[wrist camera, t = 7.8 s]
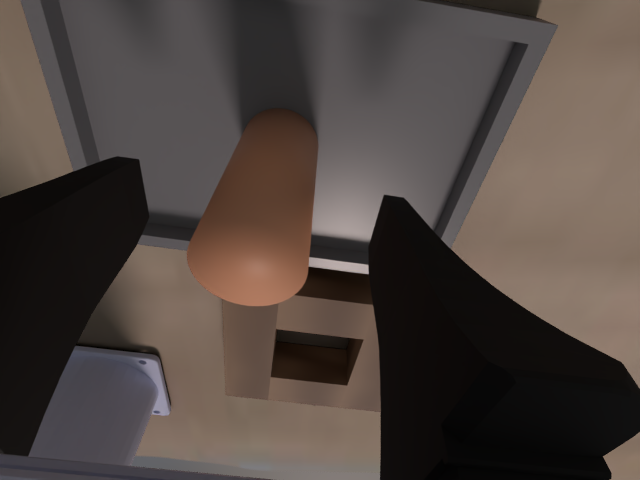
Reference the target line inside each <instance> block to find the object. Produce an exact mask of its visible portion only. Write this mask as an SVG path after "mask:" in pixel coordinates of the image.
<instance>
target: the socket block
mask: <svg viewBox="0 0 640 480" xmlns="http://www.w3.org/2000/svg"><path fill="white" fill-rule="evenodd" d="M222 310H223V338H224V366H225V394H226V395H227V396H236V397H246V398H255V399H264V400H273V401H283V402H292V403H301V404H311V405H320V406H329V407H338V408H348V409H357V410H366V411H375V412H381V401H380V365H379V345H378V335H377V328H376V322H375V315H374V308H373V302H372V295H371V288H370V281H369V274H362V273H354V272H346V271H339V270H331V269H323V268H316V267H308V275H307V279H306V281H305V283H304V285H303V286H302V288H301V289H300V290H299V291H298V292H297V293H296V294H295V295H294V296H292V297H291V298H289V299H287V300H285V301H283V302H280V303H277V304H273V305H268V306H246V305H240V304H235V303H232V302H229V301H226V300H224V299H222ZM277 329H279V330H288V331H296V332H304V333H313V334H321V335H329V336H338V337H346V338H350V340H349V343H348V347H347V350H343V349H334V348H326V347H317V346H309V345H300V344H292V343H283V342H276V338H277Z"/></svg>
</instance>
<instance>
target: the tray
mask: <svg viewBox="0 0 640 480" xmlns="http://www.w3.org/2000/svg"><path fill="white" fill-rule="evenodd" d="M21 3H22V7H23V10H24V13H25V16H26V19H27V23H28V26H29V29H30V32H31V36H32V39H33V42H34V45H35V48H36V52H37V55H38V58H39V61H40V64H41V68H42V71H43V74H44V77H45V81H46V84H47V87H48V90H49V93H50V97H51V100H52V103H53V106H54V110H55V113H56V116H57V119H58V122H59V126H60V129H61V132H62V135H63V138H64V142H65V145H66V148H67V151H68V155H69V158H70V161H71V164H72V167H73V171H76V170H79V169H81V168H84V167H86V166H89V165H92V164H94V163H97V162H100V161H103V160H106V159H109V158H112V157H116V156H120V157H127V158H134V159H139V161H140V167H141V172H142V178H143V183H144V189H145V194H146V200H147V205H148V211H149V216H150V217H149V220H148V222H147V224H146V227H145V229H144V231H143V233H142V235H141V238H140V240H139V242H138V244H140V245H147V246H155V247H163V248H170V249H178V250H185V251H187V249H188V246H189V242H190V240H191V238H192V236H193V234H194V232H195V230H196V228H197V226H198V224H199V222H200V220H201V218H202V216H203V214H204V212H205V210H206V208H207V206H208V204H209V202H210V200H211V197H212V195H213V193H214V191H215V189H216V187H217V185H218V183H219V181H220V179H221V177H222V175H223V173H224V171H225V169H226V167H227V165H228V163H229V161H230V159H231V157H232V155H233V152H234V150H235V148H236V146H237V144H238V142H239V140H240V138H241V136H242V134H243V132H244V130H245V128H246V126H247V124H248V123H249V121H250V120H251V119H252V118H253V117H254V116H255V115H257V114H258V113H260V112H262V111H264V110H267V109H273V108H283V109H288V110H291V111H294V112H296V113H298V114H299V115H301V116H302V117H304V118H305V119H306V120H307V121H308V122H309V123H310V124H311V126H312V127H313V129H314V131H315V133H316V136H317V139H318V159H317V171H316V183H315V195H314V207H313V219H312V231H311V243H310V255H309V267H316V268H323V269H331V270H339V271H346V272H354V273H362V274H369V269H368V246H369V243H370V240H371V236H372V233H373V229H374V226H375V223H376V219H377V216H378V213H379V209H380V206H381V202H382V199H383V196H384V195H390V196H397V197H404V198H405V199H406V200H407V201H408V202H409V204H410V205H411V206H412V207H413V208H414V209H415V210H416V212H417V213H418V214H419V215H420V216H421V217H422V218H423V220H424V221H425V222H426V223H427V224H428V225H429V226H430V228H431V229H432V230H433V231H434V232H435V233H436V234H437V235H438V236H439V237H440V239H441V240H442V241H443V242H444V243H445V244H446V245H447V246H448V247H449V248H450V249H451V247H452V245H453V243H454V240H455V238H456V236H457V234H458V232H459V230H460V228H461V226H462V224H463V222H464V220H465V218H466V216H467V214H468V211H469V209H470V207H471V205H472V203H473V201H474V199H475V197H476V195H477V193H478V191H479V189H480V187H481V184H482V182H483V180H484V178H485V176H486V174H487V172H488V170H489V168H490V166H491V164H492V162H493V160H494V157H495V155H496V153H497V151H498V149H499V147H500V145H501V143H502V141H503V139H504V137H505V135H506V133H507V130H508V128H509V126H510V124H511V122H512V120H513V118H514V116H515V114H516V112H517V110H518V108H519V106H520V103H521V101H522V99H523V97H524V95H525V93H526V91H527V89H528V87H529V85H530V83H531V81H532V79H533V76H534V74H535V72H536V70H537V68H538V66H539V64H540V62H541V60H542V58H543V56H544V54H545V52H546V50H547V47H548V45H549V43H550V41H551V39H552V37H553V35H554V33H555V31H556V29H557V27H558V25H556V24H553V23H550V22H548V21H545V20H542V19H539V18H536V17H531V16H525V15H519V14H514V13H508V12H503V11H497V10H491V9H486V8H480V7H475V6H469V5H463V4H458V3H452V2H447V1H441V0H21Z"/></svg>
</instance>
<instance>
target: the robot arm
mask: <svg viewBox="0 0 640 480" xmlns="http://www.w3.org/2000/svg"><path fill="white" fill-rule="evenodd" d="M149 217H150V216H149V211H148V205H147V200H146V194H145V189H144V183H143V178H142V172H141V167H140V161H139V159H134V158H127V157H120V156H116V157H112V158H109V159H106V160H103V161H100V162H97V163H94V164H92V165H89V166H86V167H84V168H81V169H79V170H76V171H74V172H71V173H68V174H66V175H63V176H61V177H58V178H55V179H53V180H50V181H48V182H45V183H42V184H39V185H36V186H34V187H31V188H28V189H25V190H22V191H19V192H16V193H14V194H11V195H8V196H5V197H2V198H0V480H271V479H260V478H250V477H240V476H229V475H219V474H208V473H198V472H185V471H175V470H165V469H155V468H145V467H134V466H131V464H132V462H133V459H134V457H135V454H136V452H137V449H138V447H139V444H140V442H141V439H142V436H143V434H144V431H145V429H146V426H147V424H148V421H149V419H150V416H151V414H154V415H163V416H166V415H169V414H170V411H171V407H170V402H169V398H168V394H167V389H166V385H165V380H164V376H163V372H162V367H161V363H160V359H159V357H157V356H156V355H153V354H145V353H136V352H127V351H118V350H110V349H101V348H92V347H83V346H75V345H76V343H77V342H78V340H79V338H80V336H81V334H82V332H83V330H84V328H85V326H86V324H87V322H88V320H89V318H90V316H91V314H92V313H93V311H94V309H95V308H96V306H97V304H98V303H99V301H100V300H101V298H102V297H103V295H104V294H105V292H106V291H107V289H108V288H109V286H110V285H111V283H112V282H113V280H114V279H115V277H116V276H117V274H118V273H119V271H120V270H121V268H122V267H123V265H124V264H125V262H126V261H127V259H128V258H129V256H130V255H131V253H132V252H133V250H134V249H135V247H136V245H137V244H138V242H139V240H140V238H141V235H142V233H143V231H144V229H145V227H146V224H147V222H148V220H149ZM368 269H369V281H370V288H371V295H372V302H373V308H374V315H375V322H376V328H377V335H378V345H379V365H380V401H381V465H380V480H609V479H611V471H610V469H609V468H608V466H607V464H606V462H605V460H604V458H603V456H604V455H606V454H607V453H609V452H611V451H612V450H614V449H615V448H617V447H618V446H620V445H621V444H623V443H624V442H626V441H628V440H629V439H631V438H632V437H634V436H635V435H636V434H637V433H639V432H640V389H639V387H638V386H637V384H636V383H635V381H634V380H633V378H632V377H631V375H630V374H629V372H628V371H627V369H626V368H625V366H624V365H623V364H622V362H620V361H618V360H616V359H614V358H612V357H610V356H608V355H606V354H604V353H602V352H600V351H598V350H597V349H595V348H593V347H591V346H589V345H587V344H585V343H583V342H581V341H579V340H577V339H575V338H573V337H571V336H570V335H568V334H566V333H564V332H563V331H561V330H559V329H558V328H556V327H554V326H552V325H551V324H549V323H547V322H546V321H544V320H542V319H541V318H539V317H537V316H536V315H534V314H533V313H531V312H530V311H528V310H526V309H525V308H523V307H522V306H520V305H519V304H518V303H516V302H515V301H513V300H512V299H510V298H509V297H508V296H506V295H505V294H503V293H502V292H500V291H499V290H498V289H496V288H495V287H494V286H492V285H491V284H490V283H489V282H487V281H486V280H485V279H484V278H482V277H481V276H480V275H479V274H478V273H476V272H475V271H474V270H473V269H472V268H470V267H469V266H468V265H467V264H466V263H465V262H464V261H463V260H462V259H461V258H459V257H458V256H457V255H456V254H455V253H454V252H453V251H452V250H451V249H450V248H449V247H448V246H447V245H446V244H445V243H444V242H443V241H442V240H441V239H440V237H439V236H438V235H437V234H436V233H435V232H434V231H433V230H432V229H431V228H430V226H429V225H428V224H427V223H426V222H425V221H424V220H423V218H422V217H421V216H420V215H419V214H418V213H417V212H416V210H415V209H414V208H413V207H412V206H411V205H410V204H409V202H408V201H407V200H406V199H405V198H404V197H397V196H390V195H384V196H383V199H382V202H381V206H380V209H379V213H378V216H377V219H376V223H375V226H374V229H373V233H372V236H371V240H370V243H369V246H368Z"/></svg>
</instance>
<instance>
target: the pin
mask: <svg viewBox="0 0 640 480" xmlns="http://www.w3.org/2000/svg"><path fill="white" fill-rule="evenodd" d="M317 159H318V139H317V136H316V133H315V131H314V129H313V127H312V126H311V124H310V123H309V122H308V121H307V120H306V119H305V118H304V117H302V116H301V115H299V114H298V113H296V112H294V111H291V110H288V109H283V108H273V109H267V110H264V111H262V112H260V113H258V114H257V115H255V116H254V117H253V118H252V119H251V120H250V121H249V123H248V124H247V126H246V128H245V130H244V132H243V134H242V136H241V138H240V140H239V142H238V144H237V146H236V148H235V150H234V152H233V155H232V157H231V159H230V161H229V163H228V165H227V167H226V169H225V171H224V173H223V175H222V177H221V179H220V181H219V183H218V185H217V187H216V189H215V191H214V193H213V195H212V197H211V200H210V202H209V204H208V206H207V208H206V210H205V212H204V214H203V216H202V218H201V220H200V222H199V224H198V226H197V228H196V230H195V232H194V234H193V236H192V238H191V240H190V242H189V246H188V249H187V261H188V265H189V267H190V270H191V272H192V274H193V275H194V277H195V278H196V279H197V281H198V282H199V283H200V284H201V285H202V286H203V287H204V288H205V289H207V290H208V291H209V292H211V293H212V294H214V295H216V296H218V297H219V298H221V299H224V300H226V301H229V302H232V303H235V304H240V305H246V306H268V305H273V304H277V303H280V302H283V301H285V300H287V299H289V298H291V297H292V296H294V295H295V294H296V293H297V292H298V291H299V290H300V289H301V288H302V286H303V285H304V283H305V281H306V279H307V275H308V267H309V255H310V243H311V231H312V219H313V207H314V195H315V183H316V171H317Z"/></svg>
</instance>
